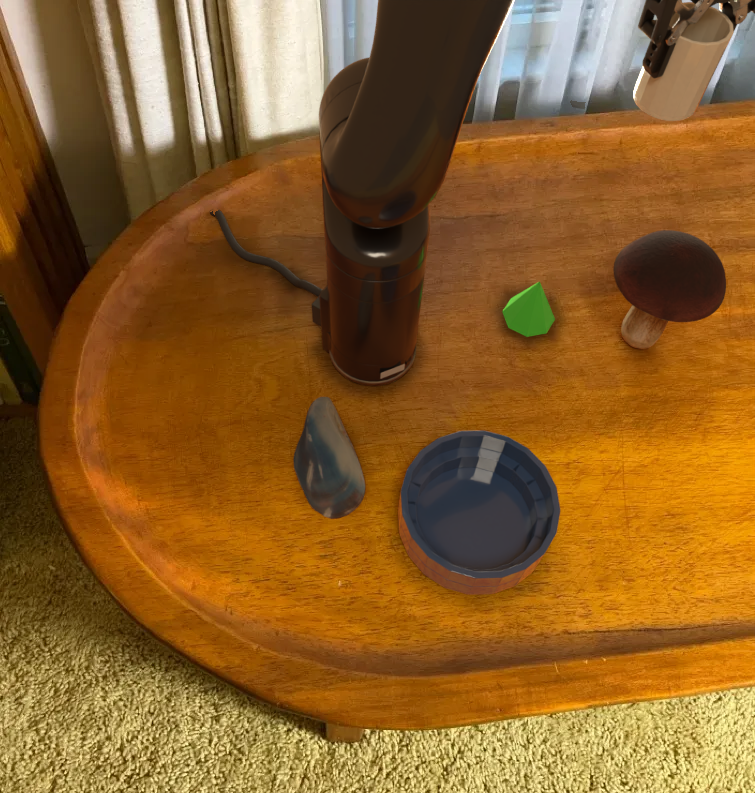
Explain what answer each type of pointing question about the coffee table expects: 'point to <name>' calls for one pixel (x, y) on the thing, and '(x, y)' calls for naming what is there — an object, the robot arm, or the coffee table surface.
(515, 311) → the gemstone
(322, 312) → the robot arm
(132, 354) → the coffee table surface
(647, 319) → the decorative mushroom
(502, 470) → the bowl
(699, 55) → the cup
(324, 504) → the seashell
